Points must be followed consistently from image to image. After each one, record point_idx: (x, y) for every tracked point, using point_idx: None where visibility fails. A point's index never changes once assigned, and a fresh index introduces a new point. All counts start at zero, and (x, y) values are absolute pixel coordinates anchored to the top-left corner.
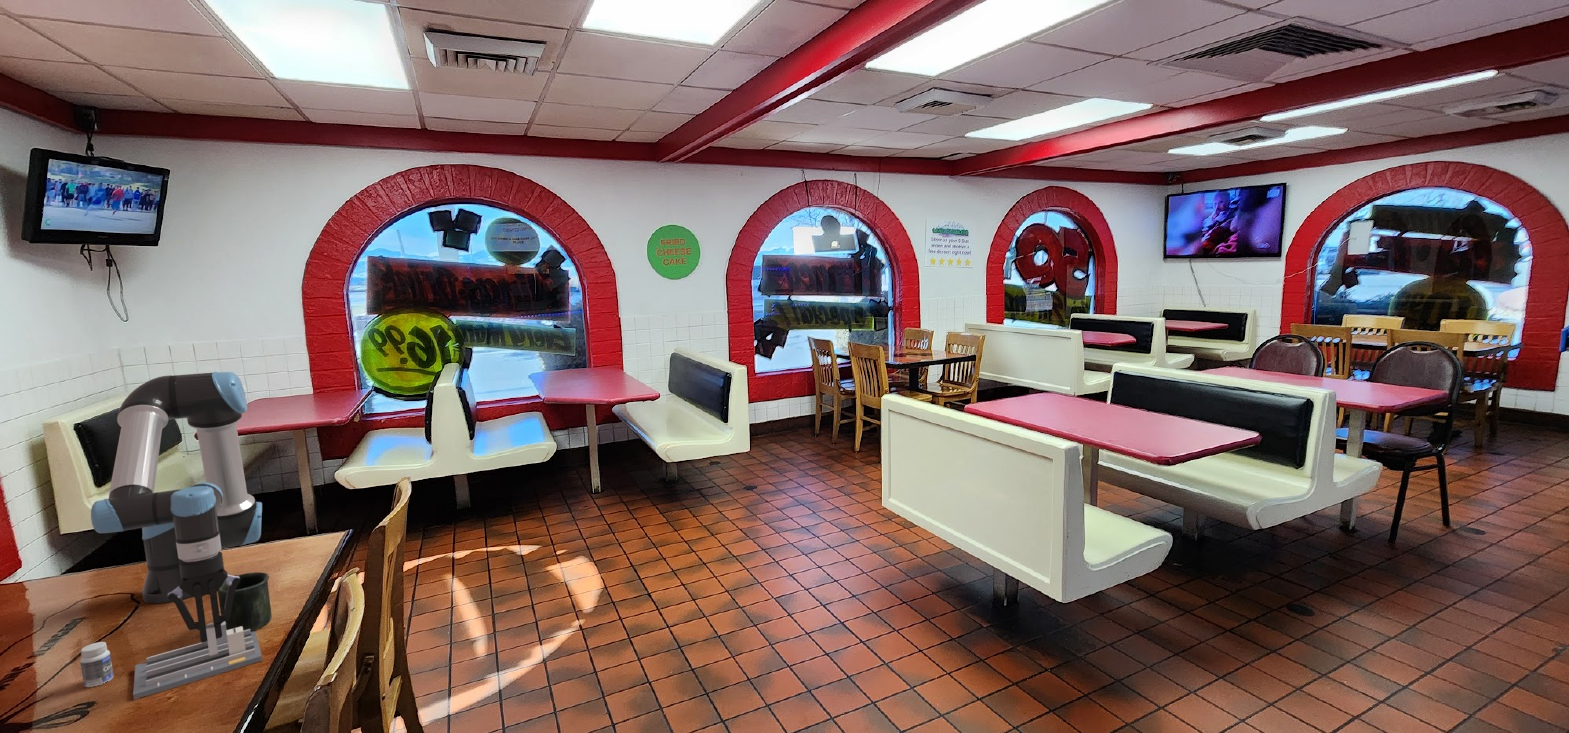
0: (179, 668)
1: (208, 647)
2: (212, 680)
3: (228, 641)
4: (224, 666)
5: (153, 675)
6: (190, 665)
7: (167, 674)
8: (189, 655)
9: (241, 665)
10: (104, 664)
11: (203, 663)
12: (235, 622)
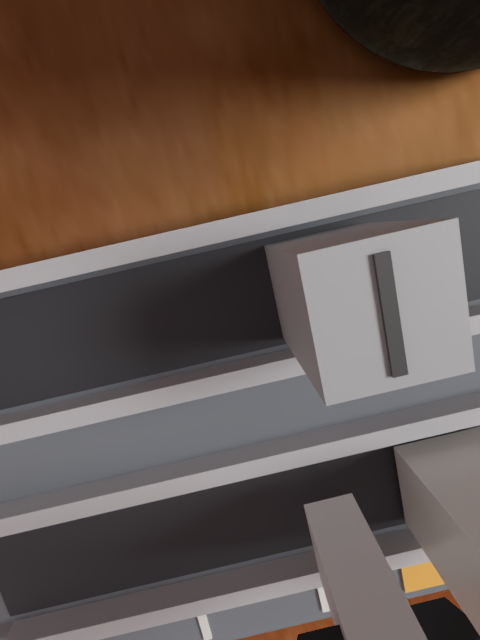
0: (142, 516)
1: (327, 591)
2: None
3: (476, 622)
4: None
5: (13, 536)
6: (197, 505)
7: (106, 628)
8: (163, 404)
9: None
10: None
11: (282, 581)
12: (443, 17)
